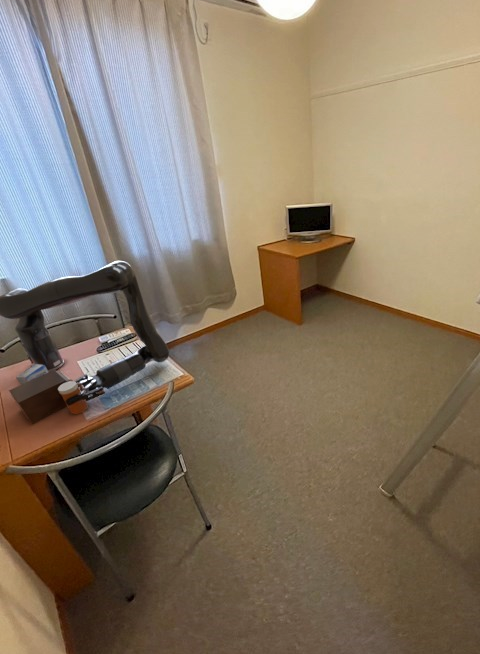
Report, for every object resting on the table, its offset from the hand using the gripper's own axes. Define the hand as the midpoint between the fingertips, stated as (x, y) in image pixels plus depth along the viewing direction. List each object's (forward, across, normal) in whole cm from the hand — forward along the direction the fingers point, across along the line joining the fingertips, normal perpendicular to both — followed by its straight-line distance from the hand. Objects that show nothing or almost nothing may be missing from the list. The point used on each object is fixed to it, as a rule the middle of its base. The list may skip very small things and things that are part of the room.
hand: (63, 399), depth 107 cm
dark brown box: (+3, -11, +6) cm, 13 cm away
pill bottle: (-3, 0, +6) cm, 7 cm away
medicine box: (+1, -24, +6) cm, 25 cm away
